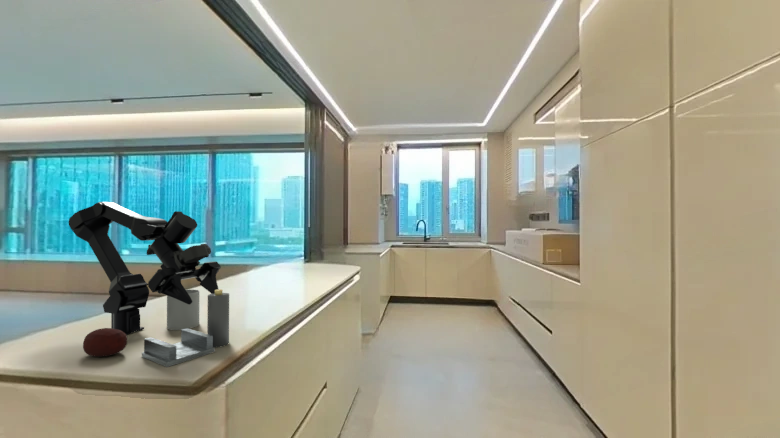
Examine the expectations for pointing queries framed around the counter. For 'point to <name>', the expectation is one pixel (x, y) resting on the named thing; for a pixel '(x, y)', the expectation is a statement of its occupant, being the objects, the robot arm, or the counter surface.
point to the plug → (218, 318)
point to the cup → (183, 312)
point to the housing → (178, 348)
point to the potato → (104, 342)
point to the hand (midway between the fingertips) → (205, 299)
